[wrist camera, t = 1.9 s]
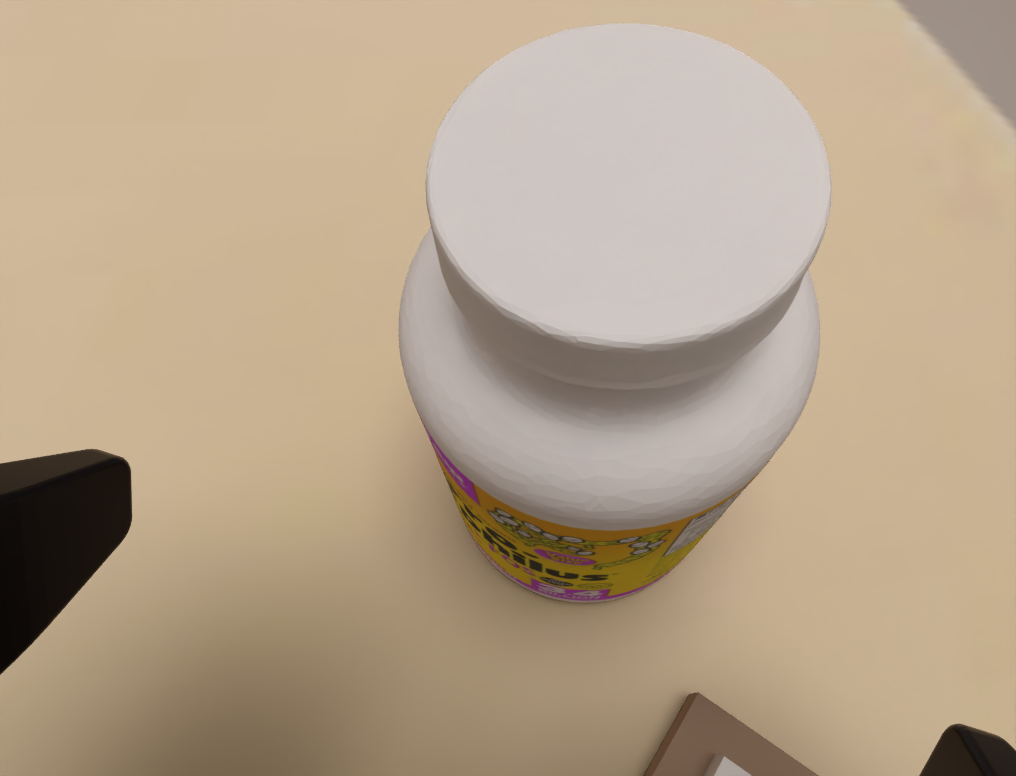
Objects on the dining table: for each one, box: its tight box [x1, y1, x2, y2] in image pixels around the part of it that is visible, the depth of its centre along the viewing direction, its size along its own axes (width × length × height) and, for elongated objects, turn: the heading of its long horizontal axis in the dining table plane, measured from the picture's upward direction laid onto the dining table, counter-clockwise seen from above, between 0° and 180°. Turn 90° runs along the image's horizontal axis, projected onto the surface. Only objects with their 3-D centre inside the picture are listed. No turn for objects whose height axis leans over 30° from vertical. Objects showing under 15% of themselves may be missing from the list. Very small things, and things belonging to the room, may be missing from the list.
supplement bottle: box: [399, 23, 831, 603], centre depth 14 cm, size 7×7×13 cm
